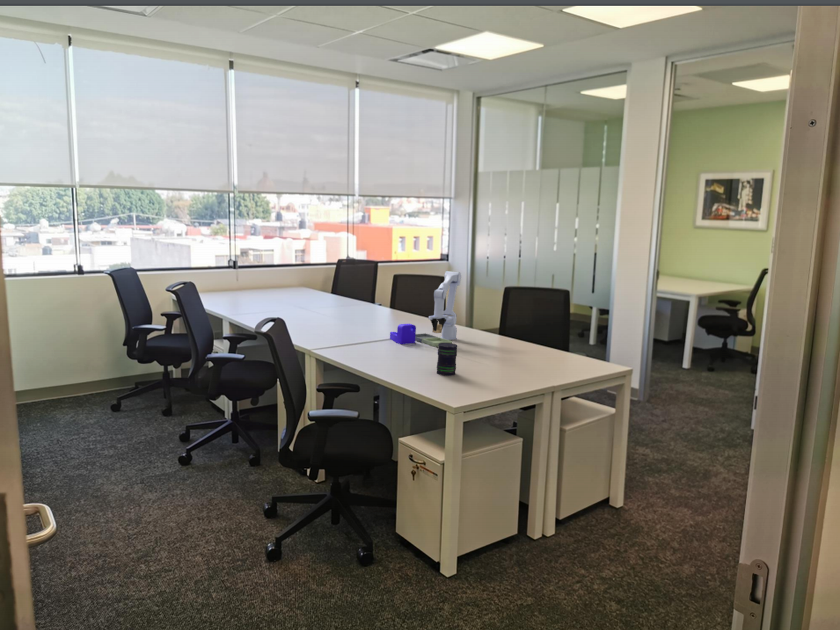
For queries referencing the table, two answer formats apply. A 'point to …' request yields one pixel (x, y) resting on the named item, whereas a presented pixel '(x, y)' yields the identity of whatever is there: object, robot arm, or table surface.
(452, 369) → the storage jar
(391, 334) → the bracket
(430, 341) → the olive bin
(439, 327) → the oak block
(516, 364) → the table surface
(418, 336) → the charcoal bin
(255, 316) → the table surface
